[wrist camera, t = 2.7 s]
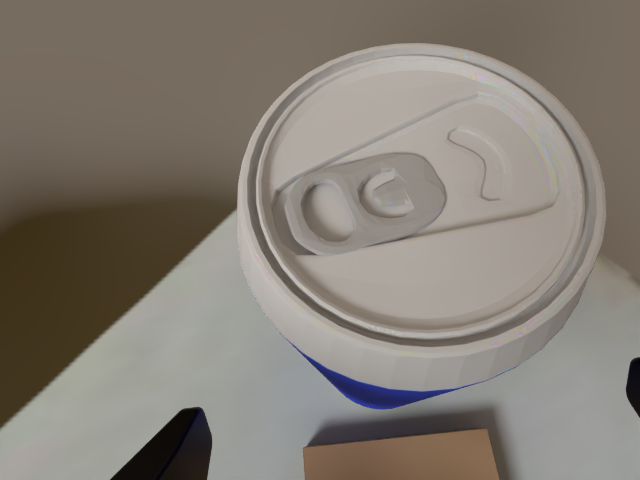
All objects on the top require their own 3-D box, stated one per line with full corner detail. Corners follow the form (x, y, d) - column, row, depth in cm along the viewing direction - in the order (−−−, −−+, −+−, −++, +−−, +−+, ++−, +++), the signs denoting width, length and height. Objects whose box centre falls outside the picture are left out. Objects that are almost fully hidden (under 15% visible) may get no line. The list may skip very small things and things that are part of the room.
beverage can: (408, 282, 20) (500, -11, 6) (454, 386, 18) (745, 289, 4) (309, 316, 20) (184, 91, 6) (344, 426, 18) (272, 459, 4)
